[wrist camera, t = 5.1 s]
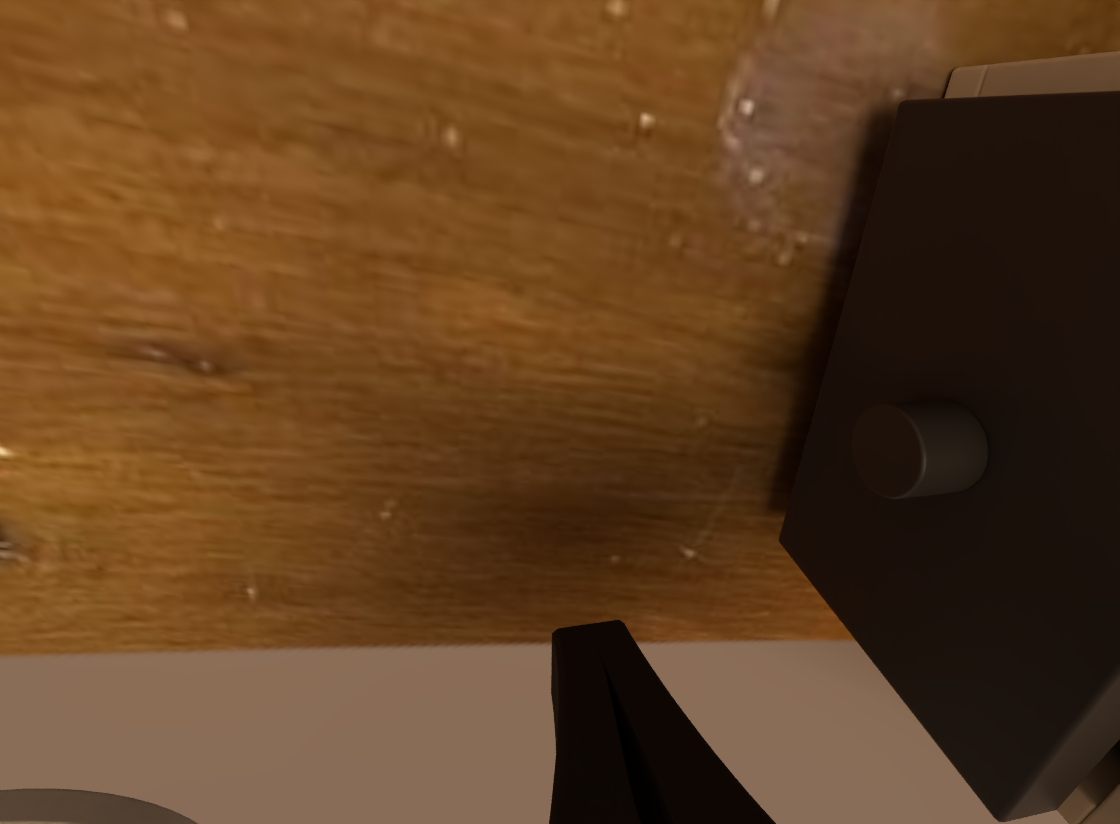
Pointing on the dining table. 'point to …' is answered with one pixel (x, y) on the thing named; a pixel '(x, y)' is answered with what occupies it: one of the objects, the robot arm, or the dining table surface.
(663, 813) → the robot arm
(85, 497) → the dining table surface
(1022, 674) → the small knobbed drawer
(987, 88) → the small drawer cabinet
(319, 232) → the dining table surface
